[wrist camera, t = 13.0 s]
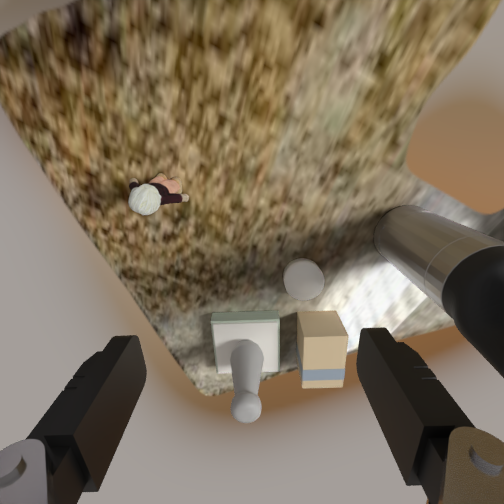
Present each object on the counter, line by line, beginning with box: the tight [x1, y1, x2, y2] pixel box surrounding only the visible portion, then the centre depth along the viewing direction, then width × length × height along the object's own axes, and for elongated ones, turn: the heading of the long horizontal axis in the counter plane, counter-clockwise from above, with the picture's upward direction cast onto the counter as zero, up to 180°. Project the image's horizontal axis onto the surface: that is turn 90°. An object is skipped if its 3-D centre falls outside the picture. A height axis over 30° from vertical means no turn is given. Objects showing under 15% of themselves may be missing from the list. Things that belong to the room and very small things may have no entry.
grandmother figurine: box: [128, 173, 189, 215], centre depth 35 cm, size 8×4×13 cm, turn 85°
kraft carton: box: [296, 311, 348, 388], centre depth 49 cm, size 7×11×7 cm, turn 2°
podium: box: [211, 310, 280, 373], centre depth 51 cm, size 12×12×3 cm
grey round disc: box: [283, 258, 325, 301], centre depth 45 cm, size 6×6×3 cm
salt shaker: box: [230, 339, 264, 423], centre depth 43 cm, size 6×6×13 cm
